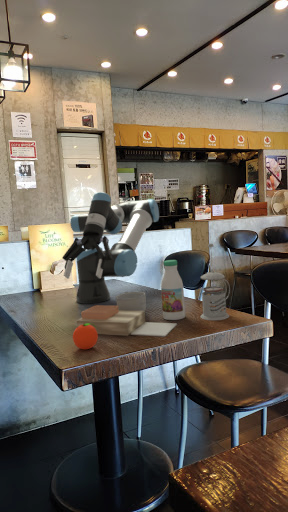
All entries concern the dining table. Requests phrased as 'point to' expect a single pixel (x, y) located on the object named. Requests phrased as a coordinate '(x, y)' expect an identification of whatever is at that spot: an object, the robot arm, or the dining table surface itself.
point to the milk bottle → (172, 292)
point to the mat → (154, 329)
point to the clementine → (85, 336)
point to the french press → (214, 297)
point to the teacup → (131, 301)
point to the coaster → (99, 312)
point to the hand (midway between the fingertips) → (82, 277)
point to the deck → (117, 323)
